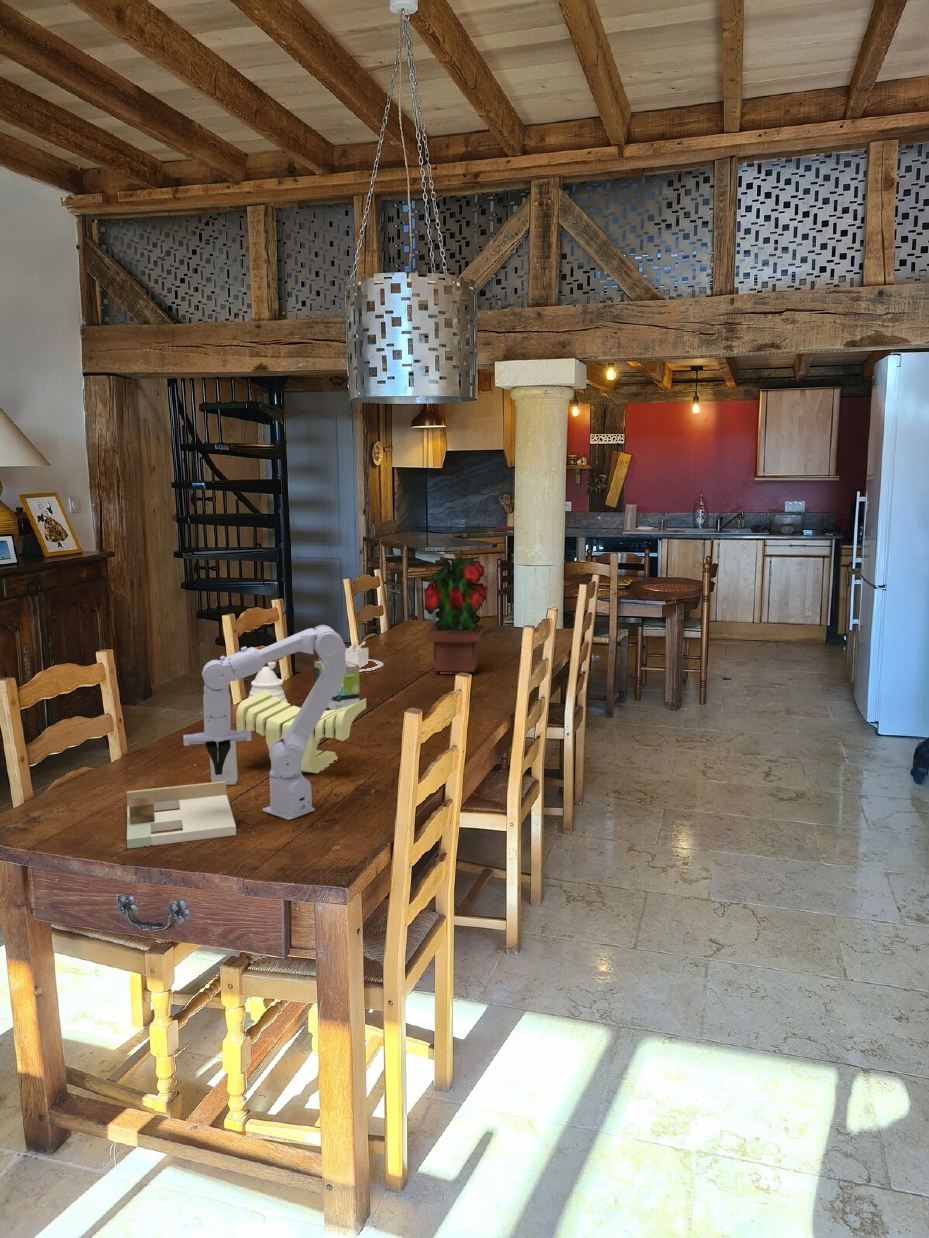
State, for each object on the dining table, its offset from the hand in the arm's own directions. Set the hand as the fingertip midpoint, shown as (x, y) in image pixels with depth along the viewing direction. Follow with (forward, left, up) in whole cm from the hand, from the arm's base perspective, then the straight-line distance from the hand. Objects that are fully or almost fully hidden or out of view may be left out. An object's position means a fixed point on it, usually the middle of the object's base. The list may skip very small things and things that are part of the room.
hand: (218, 773), depth 204 cm
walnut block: (+8, +14, -8) cm, 19 cm away
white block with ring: (+95, -137, -11) cm, 167 cm away
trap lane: (+4, +8, -10) cm, 14 cm away
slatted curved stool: (+14, -37, -11) cm, 41 cm away
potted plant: (+56, -155, -11) cm, 165 cm away
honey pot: (+60, -63, -11) cm, 88 cm away
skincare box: (+19, -15, -11) cm, 26 cm away
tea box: (+54, -88, -11) cm, 104 cm away
